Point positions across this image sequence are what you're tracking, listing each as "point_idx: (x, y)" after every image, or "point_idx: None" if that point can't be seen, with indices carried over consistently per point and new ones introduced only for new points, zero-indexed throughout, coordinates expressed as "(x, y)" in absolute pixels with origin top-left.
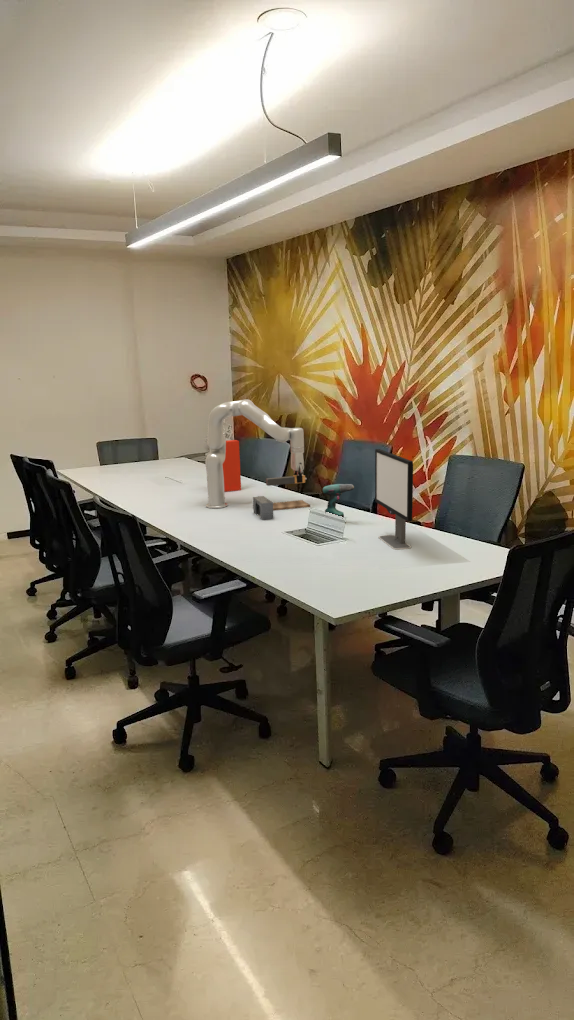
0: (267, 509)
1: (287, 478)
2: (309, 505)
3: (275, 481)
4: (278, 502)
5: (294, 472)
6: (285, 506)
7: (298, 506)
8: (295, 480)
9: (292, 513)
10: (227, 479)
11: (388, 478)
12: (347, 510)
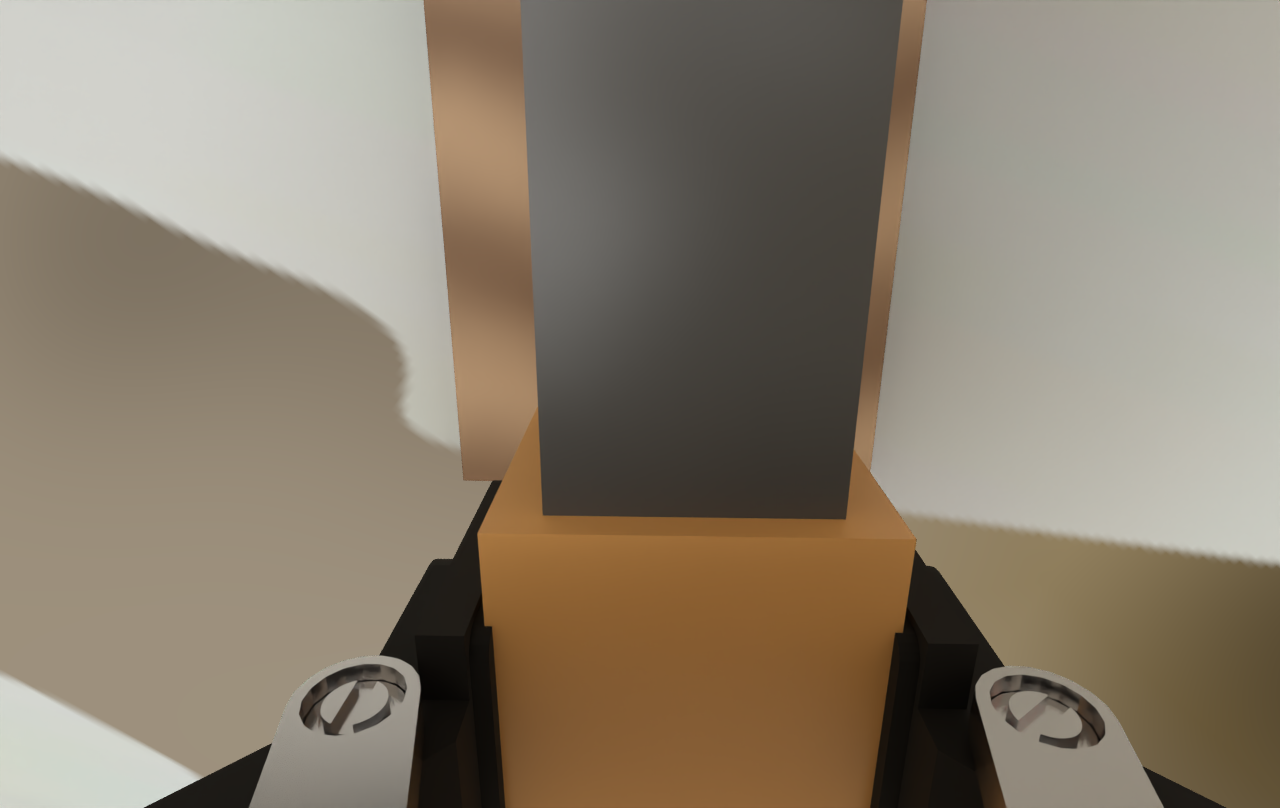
0: None
1: (534, 76)
2: (464, 465)
3: None
4: (911, 8)
5: (989, 758)
6: (493, 27)
7: (450, 276)
8: (521, 461)
9: (79, 28)
10: None
11: None
12: (115, 787)
